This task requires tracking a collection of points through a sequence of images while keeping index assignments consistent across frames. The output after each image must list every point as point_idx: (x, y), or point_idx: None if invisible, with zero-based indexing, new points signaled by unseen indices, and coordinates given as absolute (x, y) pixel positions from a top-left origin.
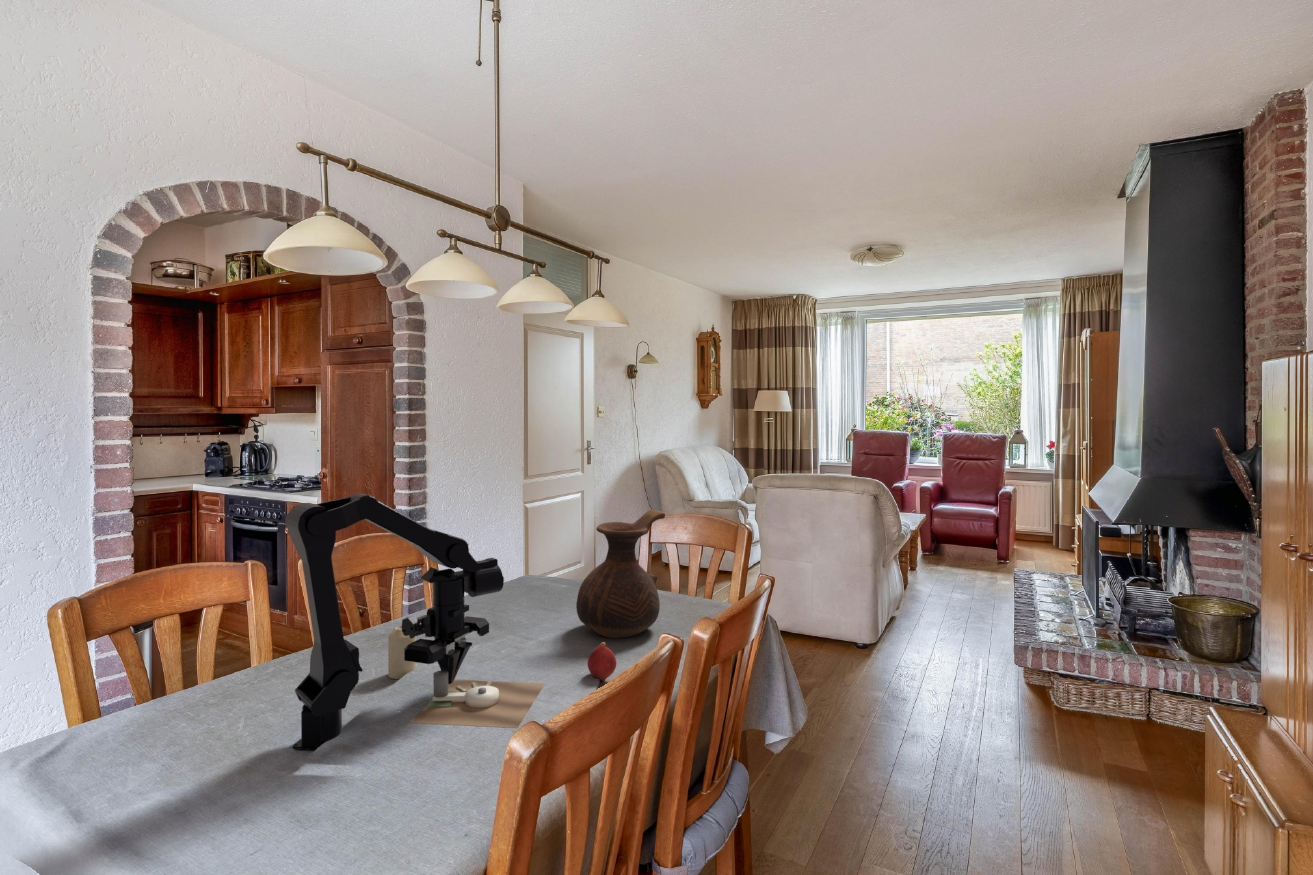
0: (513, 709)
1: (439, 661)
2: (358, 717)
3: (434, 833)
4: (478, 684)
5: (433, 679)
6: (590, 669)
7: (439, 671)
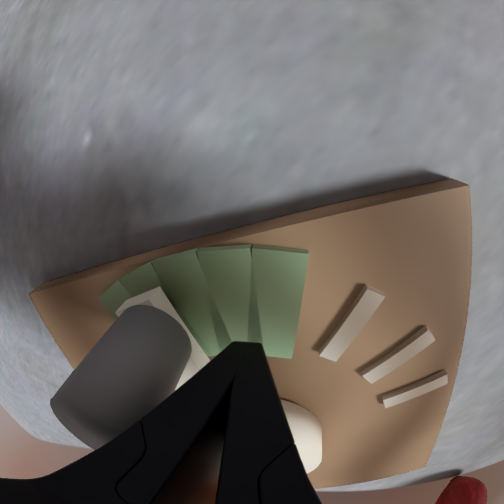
0: None
1: (92, 476)
2: (21, 63)
3: (16, 412)
4: (424, 351)
5: (72, 372)
6: (447, 500)
7: (99, 424)
